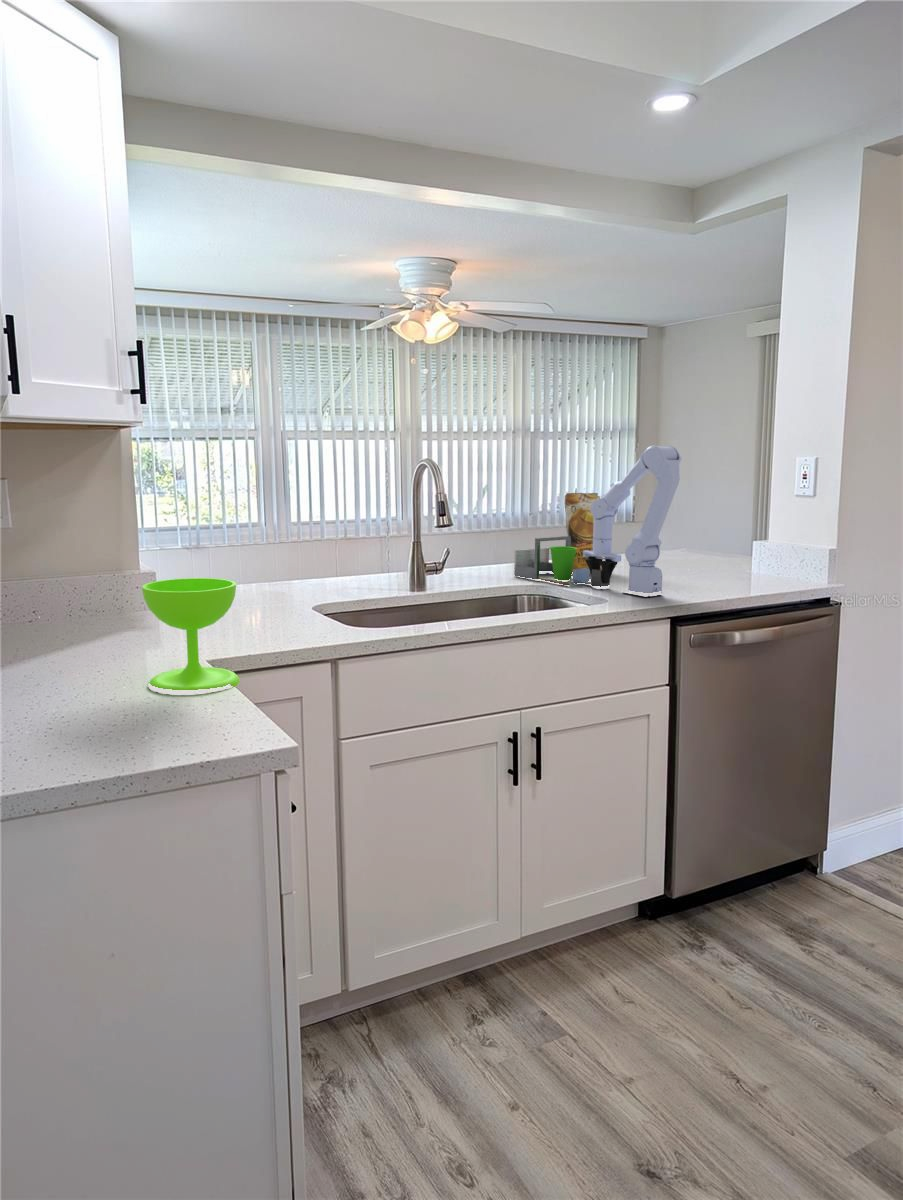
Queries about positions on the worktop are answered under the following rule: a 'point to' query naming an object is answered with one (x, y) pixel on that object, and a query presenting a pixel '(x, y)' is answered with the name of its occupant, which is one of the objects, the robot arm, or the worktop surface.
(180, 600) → the wineglass
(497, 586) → the worktop surface
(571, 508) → the pancake mix bag
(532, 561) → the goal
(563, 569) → the cup
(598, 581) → the blue and gray block
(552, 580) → the lane rails
